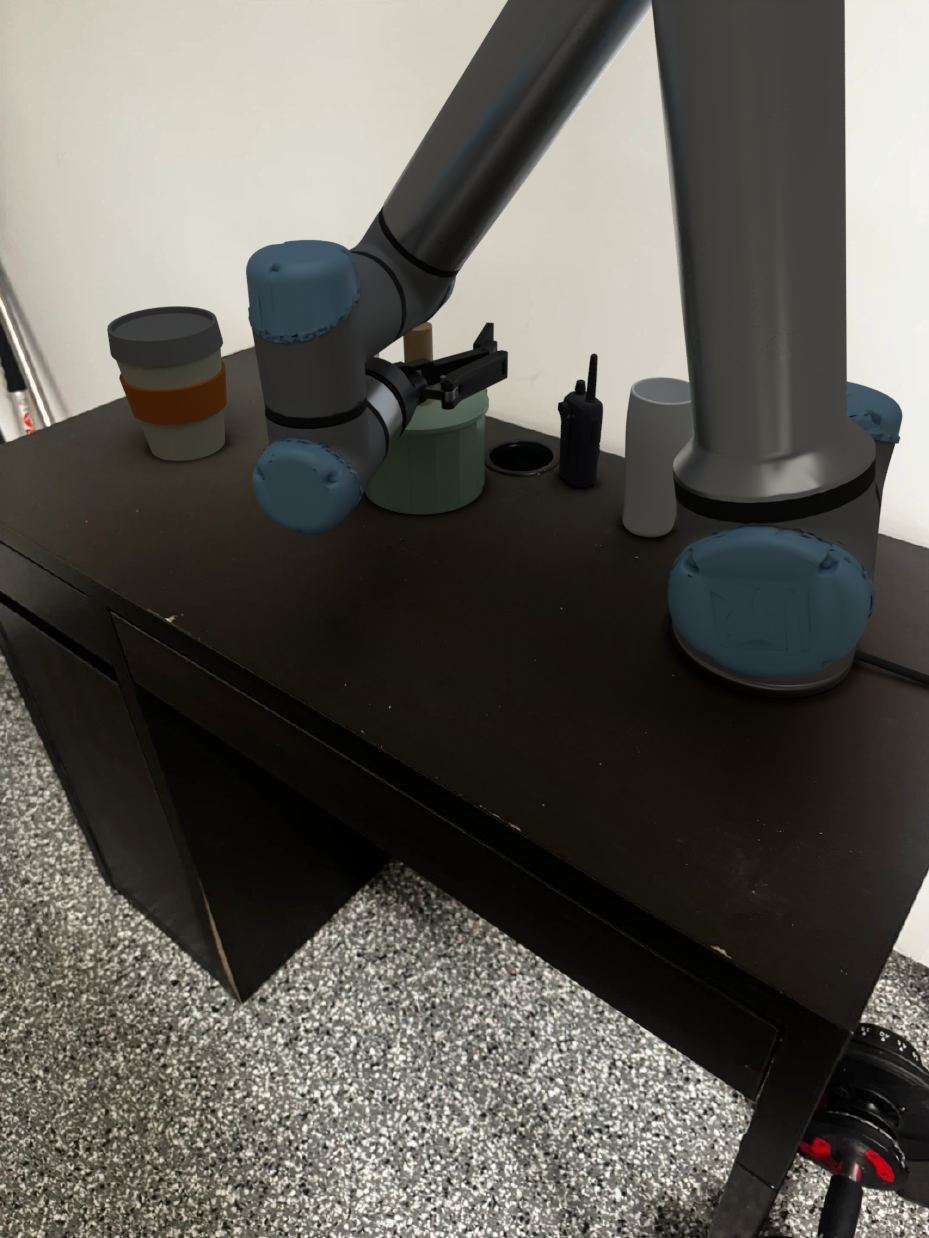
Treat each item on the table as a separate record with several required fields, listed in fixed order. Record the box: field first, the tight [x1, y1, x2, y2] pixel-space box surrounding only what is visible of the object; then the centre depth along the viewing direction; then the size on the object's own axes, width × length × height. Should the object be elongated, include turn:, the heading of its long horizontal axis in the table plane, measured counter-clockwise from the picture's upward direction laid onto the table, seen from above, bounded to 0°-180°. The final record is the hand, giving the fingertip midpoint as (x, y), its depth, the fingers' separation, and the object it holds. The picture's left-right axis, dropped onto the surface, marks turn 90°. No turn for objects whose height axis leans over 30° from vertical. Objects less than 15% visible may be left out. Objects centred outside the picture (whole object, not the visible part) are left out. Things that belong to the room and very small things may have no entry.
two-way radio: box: [557, 353, 604, 488], centre depth 97 cm, size 6×4×15 cm
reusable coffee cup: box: [106, 305, 228, 462], centre depth 105 cm, size 13×13×15 cm
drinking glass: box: [621, 376, 694, 538], centre depth 88 cm, size 7×7×15 cm
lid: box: [402, 321, 490, 435], centre depth 93 cm, size 15×15×9 cm
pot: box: [364, 388, 488, 515], centre depth 98 cm, size 14×19×10 cm
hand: (426, 331), depth 92 cm, fingers open, 13 cm apart
